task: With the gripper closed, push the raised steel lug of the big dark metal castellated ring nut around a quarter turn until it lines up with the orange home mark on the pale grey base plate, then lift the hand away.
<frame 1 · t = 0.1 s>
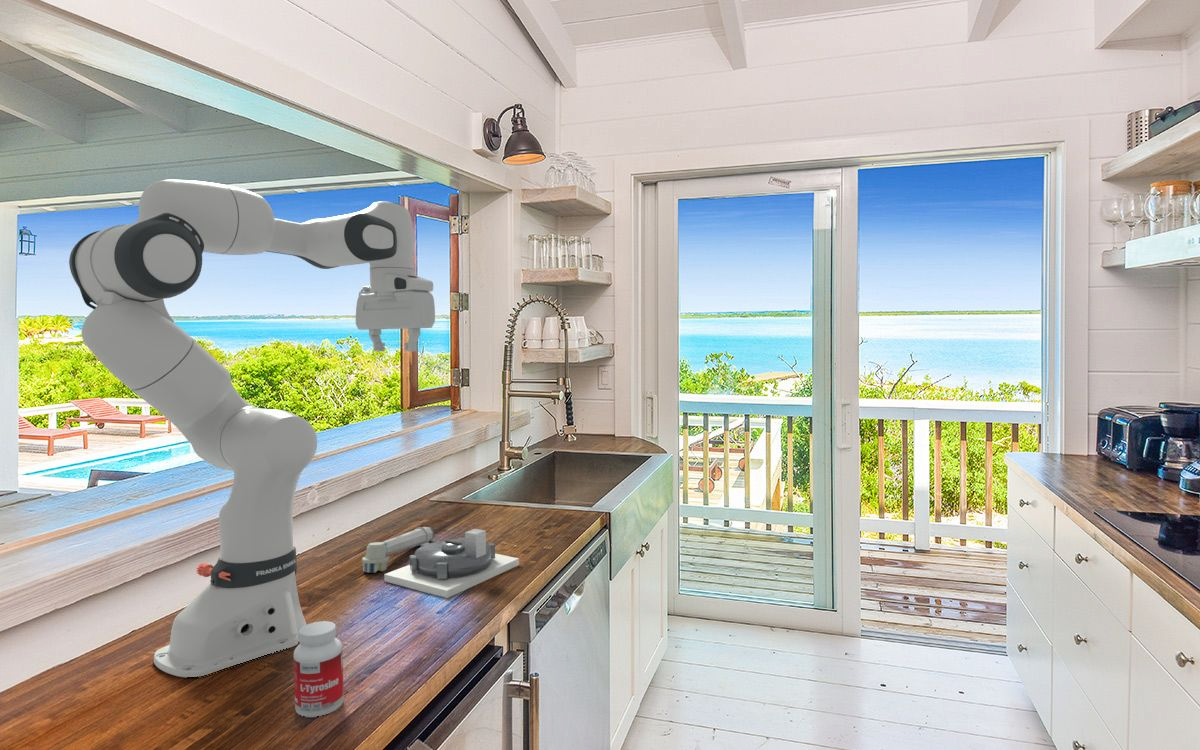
hand: (394, 351, 138), 48 cm above the countertop, tool pointing down, fingers open, 8 cm apart
base plate: (453, 572, 144), on the countertop
pill bottle: (320, 708, 92), on the countertop
toothbrush head: (400, 558, 156), on the countertop
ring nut: (451, 545, 144), point 6 cm above the countertop, hinge at 0.0°
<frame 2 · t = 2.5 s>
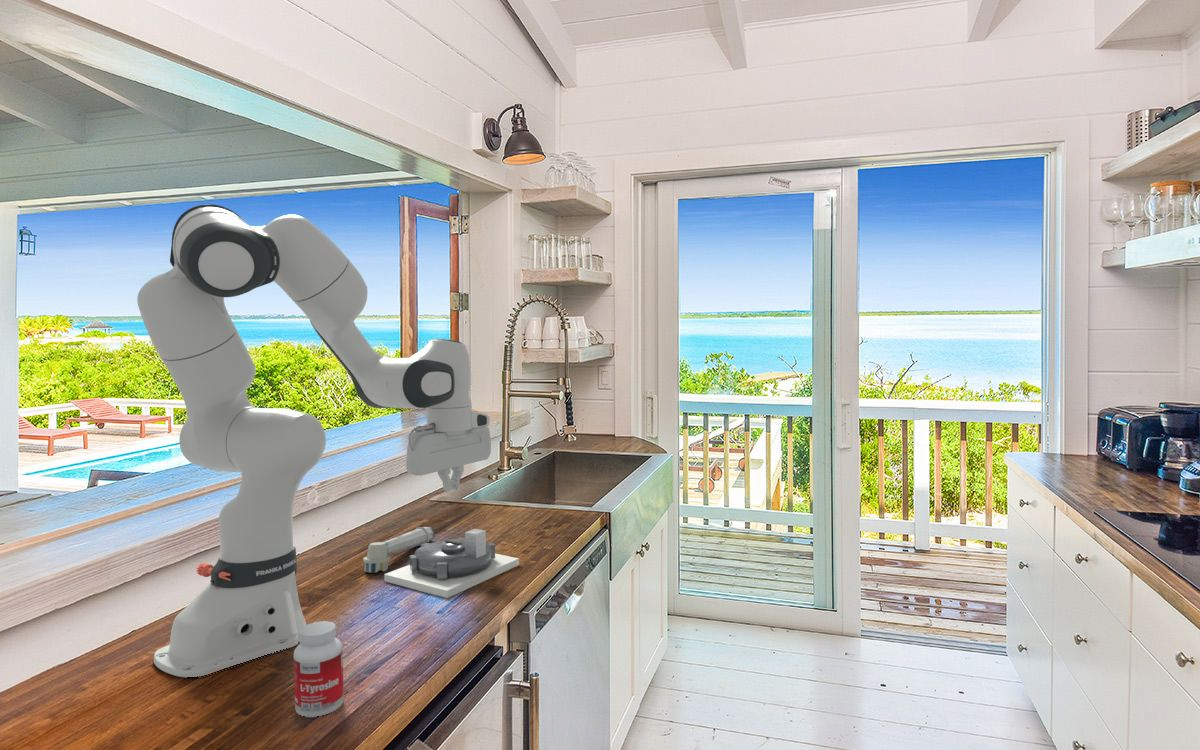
hand: (451, 489, 134), 20 cm above the countertop, tool pointing down, fingers closed
nothing on the countertop moved.
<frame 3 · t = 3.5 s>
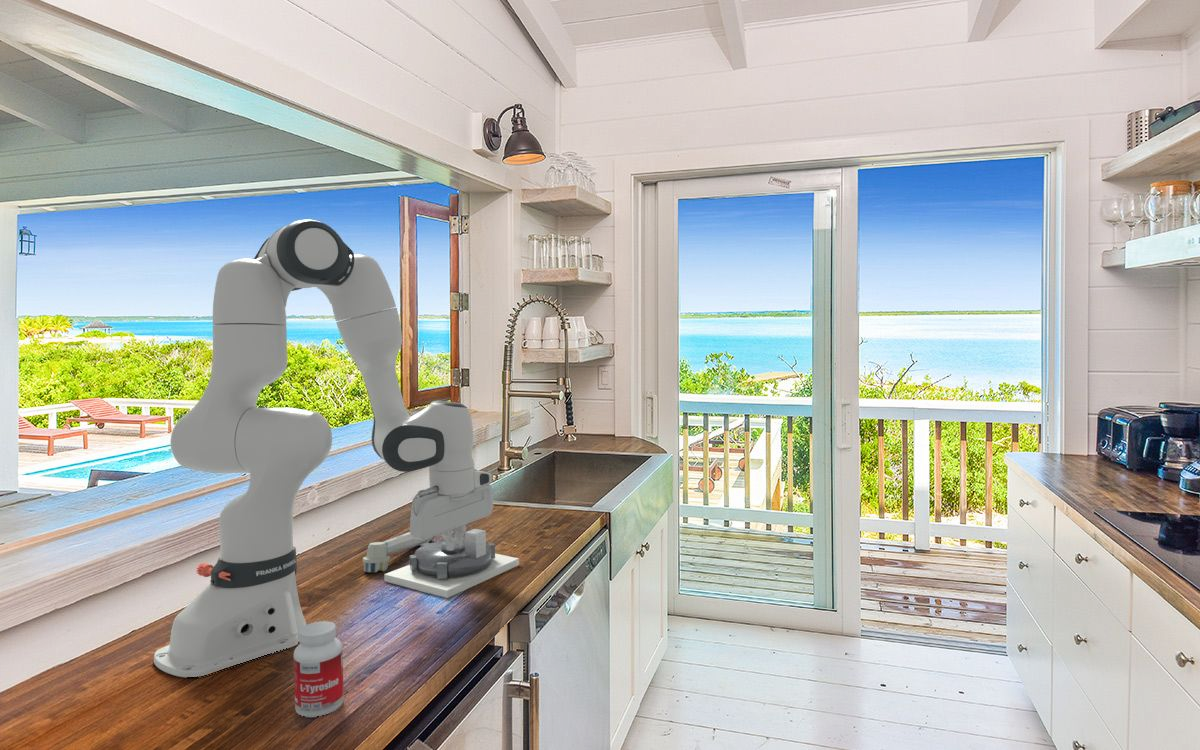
hand: (454, 548, 135), 8 cm above the countertop, tool pointing down, fingers closed
nothing on the countertop moved.
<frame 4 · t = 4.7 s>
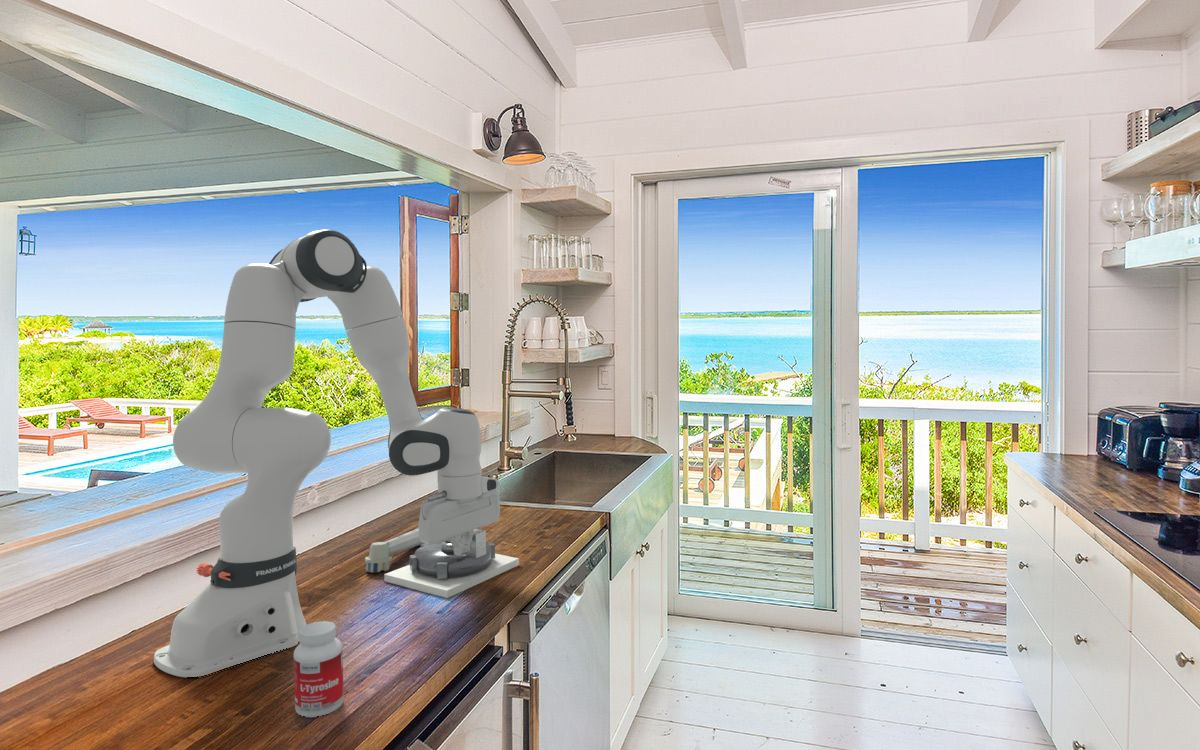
hand: (461, 553, 137), 6 cm above the countertop, tool pointing down, fingers closed
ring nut: (451, 545, 144), point 6 cm above the countertop, hinge at 0.0°, touching gripper
everything else where it was.
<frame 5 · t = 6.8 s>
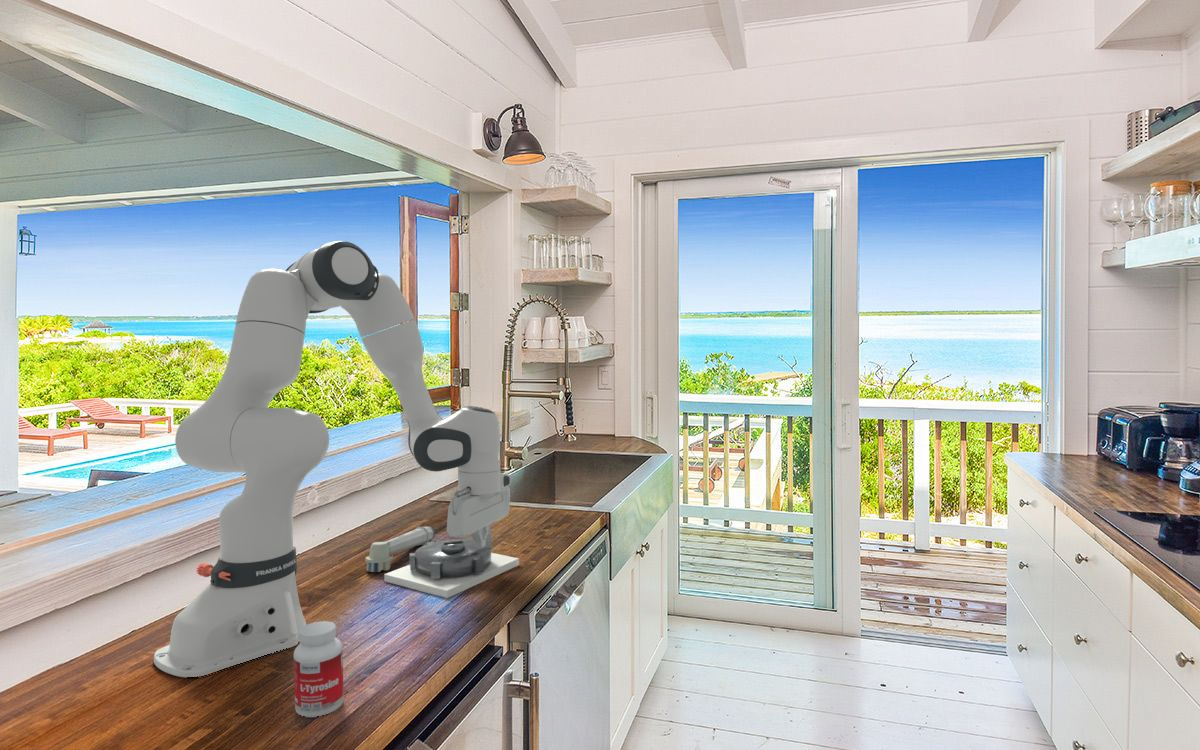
hand: (480, 547, 142), 6 cm above the countertop, tool pointing down, fingers closed
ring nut: (450, 545, 144), point 6 cm above the countertop, hinge at 51.0°, touching gripper
everything else where it was.
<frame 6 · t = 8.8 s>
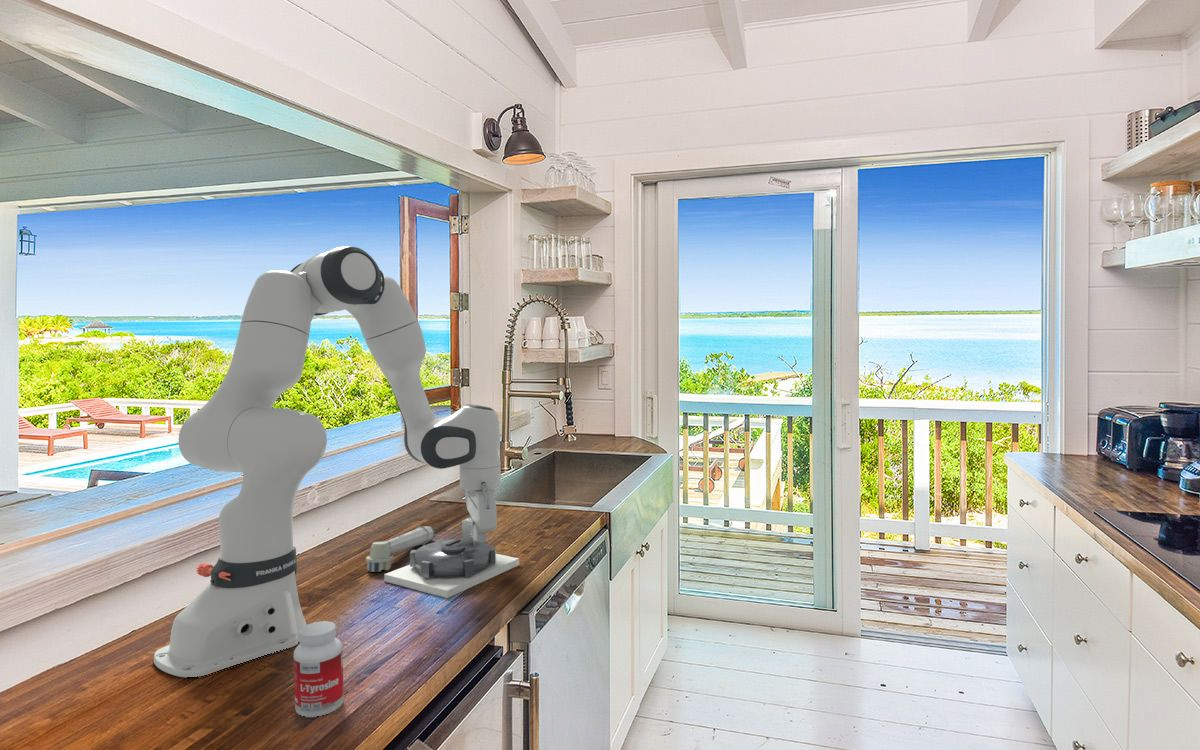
hand: (481, 541, 147), 6 cm above the countertop, tool pointing down, fingers closed
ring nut: (451, 546, 143), point 6 cm above the countertop, hinge at 95.7°, touching gripper
everything else where it was.
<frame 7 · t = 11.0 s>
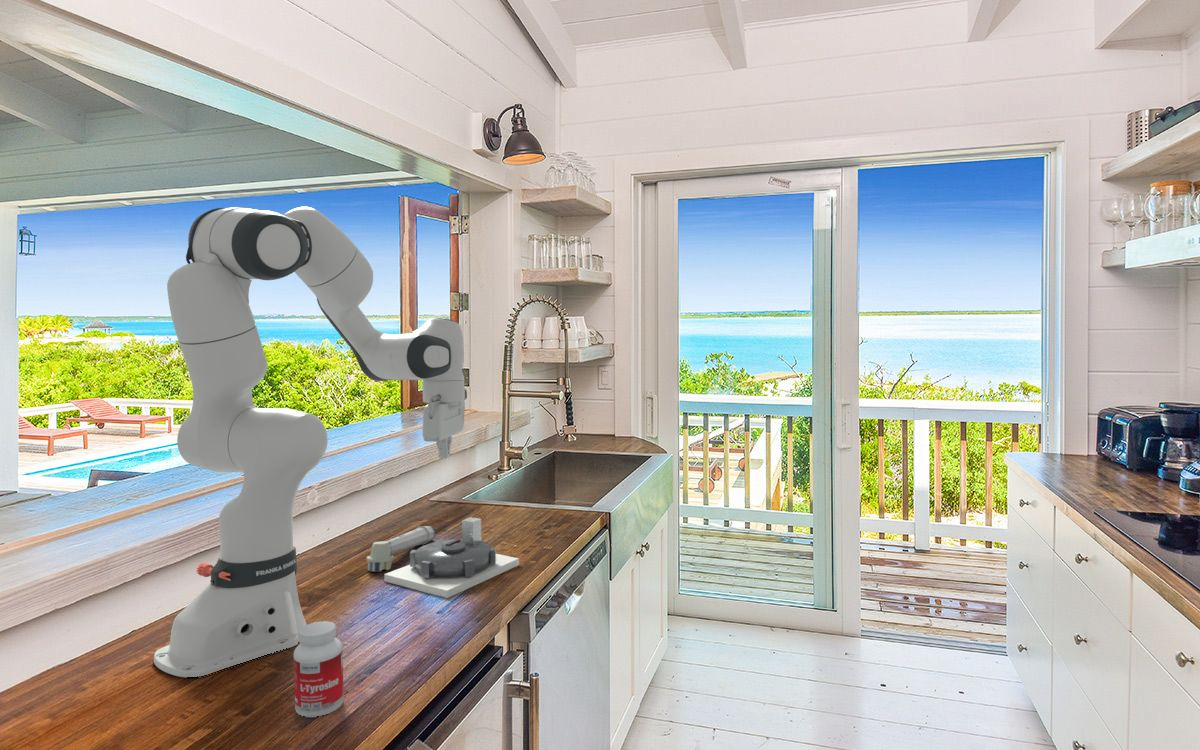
hand: (444, 457, 146), 25 cm above the countertop, tool pointing down, fingers closed
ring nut: (451, 546, 143), point 6 cm above the countertop, hinge at 95.7°
everything else where it was.
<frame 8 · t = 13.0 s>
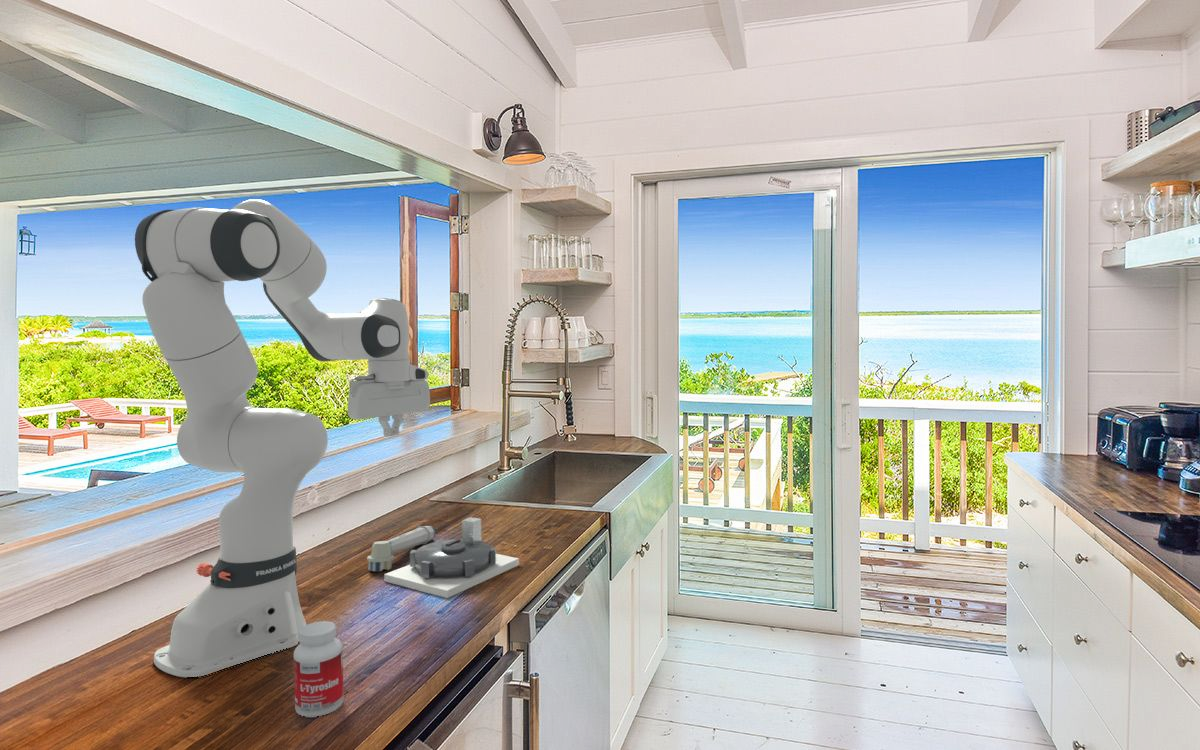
hand: (391, 435, 148), 29 cm above the countertop, tool pointing down, fingers closed
at the end: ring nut at +96° (first picture: +0°); toothbrush head moved 1.1 cm from its start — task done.
